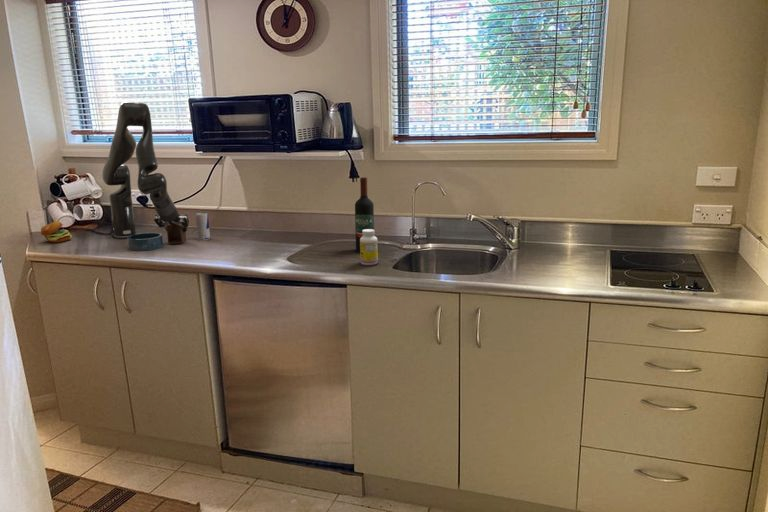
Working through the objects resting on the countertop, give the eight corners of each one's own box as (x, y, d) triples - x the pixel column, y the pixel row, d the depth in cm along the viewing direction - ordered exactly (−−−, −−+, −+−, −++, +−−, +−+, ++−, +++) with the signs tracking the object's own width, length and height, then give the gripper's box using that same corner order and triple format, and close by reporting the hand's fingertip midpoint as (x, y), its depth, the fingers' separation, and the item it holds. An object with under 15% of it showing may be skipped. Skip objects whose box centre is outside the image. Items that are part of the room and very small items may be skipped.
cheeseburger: (74, 240, 257) (64, 220, 253) (48, 249, 252) (39, 229, 248) (71, 236, 265) (62, 216, 262) (46, 245, 260) (37, 224, 257)
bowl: (122, 249, 241) (120, 237, 239) (150, 243, 252) (148, 231, 250) (141, 253, 233) (140, 240, 232) (170, 247, 244) (168, 234, 243)
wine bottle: (376, 249, 238) (375, 176, 230) (370, 253, 231) (369, 179, 223) (359, 247, 240) (358, 176, 233) (353, 251, 233) (351, 178, 226)
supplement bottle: (359, 261, 219) (359, 228, 216) (377, 260, 219) (376, 228, 216) (360, 266, 212) (360, 232, 209) (378, 265, 213) (378, 231, 210)
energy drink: (212, 238, 260) (209, 212, 257) (207, 241, 255) (205, 214, 252) (200, 238, 261) (198, 212, 258) (195, 241, 255) (193, 214, 252)
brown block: (182, 243, 246) (180, 225, 245) (168, 243, 246) (166, 225, 244) (186, 240, 252) (184, 222, 250) (172, 240, 252) (171, 222, 250)
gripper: (184, 200, 237) (195, 223, 252) (149, 201, 237) (162, 223, 251) (181, 215, 234) (192, 237, 248) (146, 216, 233) (159, 238, 248)
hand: (177, 230), depth 250 cm, fingers closed on brown block, 6 cm apart
